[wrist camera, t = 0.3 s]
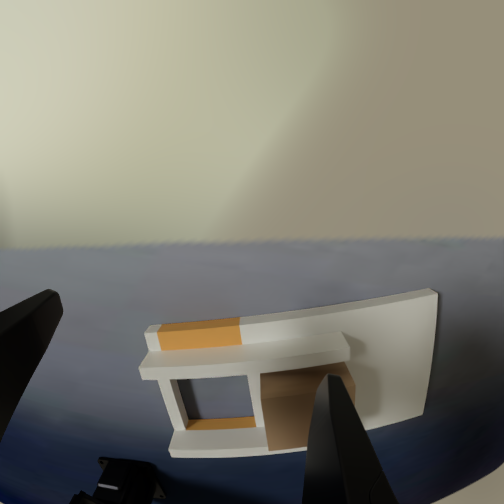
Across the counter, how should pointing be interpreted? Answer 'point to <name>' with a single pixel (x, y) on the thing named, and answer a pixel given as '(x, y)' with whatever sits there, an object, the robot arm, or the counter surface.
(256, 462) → the counter surface
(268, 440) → the walnut block
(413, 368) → the white mounting bracket
